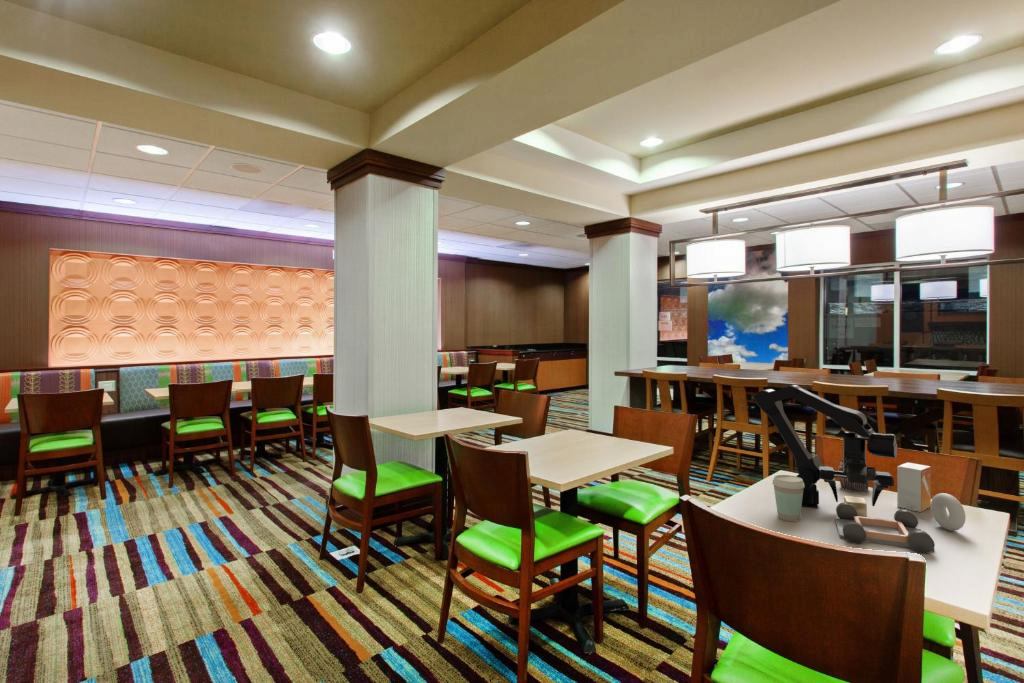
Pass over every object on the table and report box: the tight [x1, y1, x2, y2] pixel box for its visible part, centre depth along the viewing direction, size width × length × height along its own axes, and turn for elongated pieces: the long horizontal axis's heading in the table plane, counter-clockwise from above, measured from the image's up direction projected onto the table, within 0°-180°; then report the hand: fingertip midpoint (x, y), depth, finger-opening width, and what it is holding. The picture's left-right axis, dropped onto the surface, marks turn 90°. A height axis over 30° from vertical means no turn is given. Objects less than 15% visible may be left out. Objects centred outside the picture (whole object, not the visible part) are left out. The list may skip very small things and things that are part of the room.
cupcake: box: [837, 459, 871, 493], centre depth 178 cm, size 10×10×10 cm
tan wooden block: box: [843, 495, 868, 517], centre depth 154 cm, size 5×6×4 cm
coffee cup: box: [772, 474, 805, 522], centre depth 152 cm, size 8×8×12 cm
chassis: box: [834, 502, 936, 554], centre depth 138 cm, size 20×19×5 cm
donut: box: [930, 492, 967, 532], centre depth 141 cm, size 10×4×10 cm, turn 177°
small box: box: [896, 462, 932, 513], centre depth 159 cm, size 8×6×13 cm
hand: (854, 503), depth 154 cm, fingers open, 9 cm apart
